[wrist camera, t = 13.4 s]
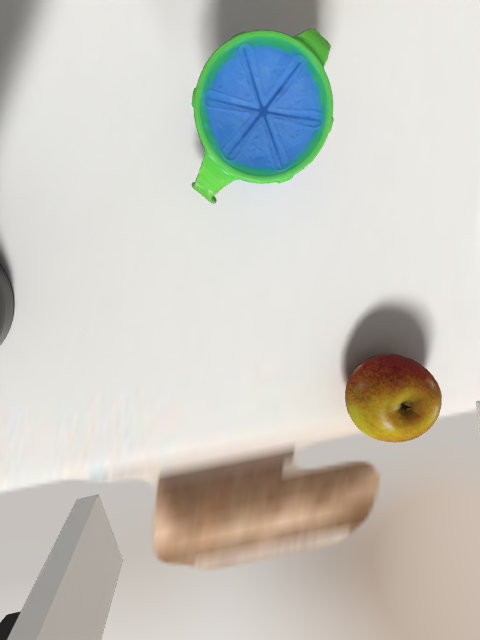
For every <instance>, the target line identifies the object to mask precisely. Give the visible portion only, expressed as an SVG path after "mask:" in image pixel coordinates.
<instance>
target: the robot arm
mask: <svg viewBox="0 0 480 640" xmlns="http://www.w3.org/2000/svg"><path fill="white" fill-rule="evenodd" d="M13 313H14V300H13V293H12V289H11V285H10V282H9V280H8V277H7V275H6V273H5V271H4V269H3V267H2V266H1V264H0V345H1V344H2V342H3V341H4V339H5V338H6V336H7V334H8V332H9V330H10V327H11V324H12V319H13ZM476 407H477V416H478V425H479V432H480V401H476ZM479 434H480V433H479ZM122 562H123V559H122V556H121V554H120V551H119V548H118V546H117V543H116V540H115V537H114V535H113V532H112V529H111V527H110V524H109V521H108V519H107V516H106V513H105V510H104V508H103V505H102V502H101V500H100V497H99V495H94V496H90V497H85V498H81V499H77V500H76V502H75V504H74V506H73V508H72V510H71V512H70V514H69V516H68V518H67V520H66V522H65V524H64V526H63V528H62V530H61V532H60V534H59V536H58V538H57V540H56V542H55V544H54V546H53V548H52V550H51V552H50V554H49V556H48V558H47V560H46V562H45V564H44V566H43V568H42V570H41V572H40V574H39V576H38V578H37V580H36V582H35V584H34V586H33V588H32V590H31V592H30V595H29V597H28V599H27V601H26V602H25V604H24V607H23V609H22V611H21V612H17V613H12V614H8V615H6V617H5V618H4V619H3V620H2V621H1V623H0V640H101V638H102V635H103V631H104V627H105V624H106V620H107V617H108V612H109V609H110V605H111V602H112V598H113V594H114V591H115V587H116V584H117V580H118V576H119V572H120V569H121V565H122Z"/></svg>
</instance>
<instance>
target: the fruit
mask: <svg viewBox="0 0 480 640" xmlns="http://www.w3.org/2000/svg"><path fill="white" fill-rule="evenodd" d="M441 397H442V395H441V390H440V388H439V385H438V383H437V382H436V380H435V379H434V377H433V375H432V374H431V373H430V372H429V371H428V370H427V369H425V368H424V367H423V366H421V365H420V364H419V363H417V362H416V361H414V360H412V359H409V358H406V357H403V356H399V355H395V354H383V355H378V356H374V357H372V358H369V359H367V360H365V361H364V362H363V363H362V364H360V365H359V366H358V367H357V368H356V369H355V370H354V372H353V373H352V374H351V376H350V378H349V380H348V382H347V386H346V391H345V401H346V407H347V410H348V413H349V415H350V417H351V419H352V420H353V422H354V423H355V425H356V426H357V427H358V428H359V429H360V430H361V431H362V432H364V433H365V434H367V435H368V436H370V437H372V438H375V439H377V440H381V441H387V442H403V441H408V440H412V439H414V438H417V437H419V436H420V435H422V434H423V433H425V432H426V431H427V430H428V429H430V427H431V426H432V425H433V424H434V422H435V421H436V420H437V418H438V416H439V412H440V409H441Z"/></svg>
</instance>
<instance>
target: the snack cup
mask: <svg viewBox="0 0 480 640" xmlns="http://www.w3.org/2000/svg"><path fill="white" fill-rule="evenodd" d="M330 48H331V46H330V44H329V43H328V41H327V40H325V39H324V38H323V37H322V36H321V35H320V34H319V32H318V31H317V30H315V29H308V30H306V31H304V32H302V33H300V34H299V35H297V36H294V37H291V36H289V35H287V34H284V33H280V32H276V31H272V30H256V31H251V32H247V33H246V32H242V33H239V34H237V35H235V36H233V37H232V38H231V39H230V40H229V41H227V42H226V43H224V44H223V45H222V46H221V47H219V48H218V49H217V50H216V51H215V52H214V53H213V54H212V56H211V57H210V58H209V60H208V61H207V63H206V64H205V66H204V68H203V70H202V72H201V75H200V77H199V80H198V83H197V86H196V88H195V89H194V91H193V97H192V106H193V107H194V117H195V123H196V128H197V131H198V135H199V137H200V140H201V142H202V144H203V146H204V150H205V154H204V158H203V161H202V164H201V167H200V170H199V173H198V176H197V178H196V181H195V182H193V183H192V187H193V188H194V189H195V190H196V191H197V192H199V193H200V194H201V195H202V196H204V197H205V198H206V199H207V200H208V201H210V202H211V203H216V198H215V197H214V195H215V194H216V193H218V191H219V190H221V189H222V188H223V187H225V186H226V185H228V184H229V183H231V182H232V181H234V180H236V179H240V180H244V181H247V182H253V183H261V184H262V183H273V182H278V183H282V182H285V181H287V180H290V179H291V178H292V177H293V176H294V175H295V174H296V173H298V172H299V171H301V170H302V169H304V168H305V167H306V166H307V165H308V164H309V163H311V162H312V161H313V159H314V158H315V157H316V156H317V154H318V153H319V151H320V150H321V148H322V146H323V144H324V142H325V140H326V138H327V136H328V133H329V132H330V131H331V128H332V124H333V116H332V115H333V99H332V91H331V87H330V83H329V80H328V77H327V75H326V72H325V70H324V64H325V63H326V61H327V59H328V54H329V51H330Z"/></svg>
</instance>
